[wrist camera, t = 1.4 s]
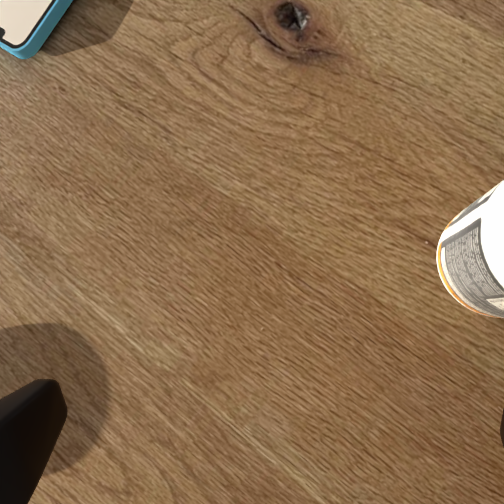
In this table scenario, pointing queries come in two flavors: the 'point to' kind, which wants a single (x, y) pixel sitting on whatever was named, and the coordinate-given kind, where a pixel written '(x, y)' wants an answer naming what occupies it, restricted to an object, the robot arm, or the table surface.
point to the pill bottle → (476, 255)
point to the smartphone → (28, 24)
